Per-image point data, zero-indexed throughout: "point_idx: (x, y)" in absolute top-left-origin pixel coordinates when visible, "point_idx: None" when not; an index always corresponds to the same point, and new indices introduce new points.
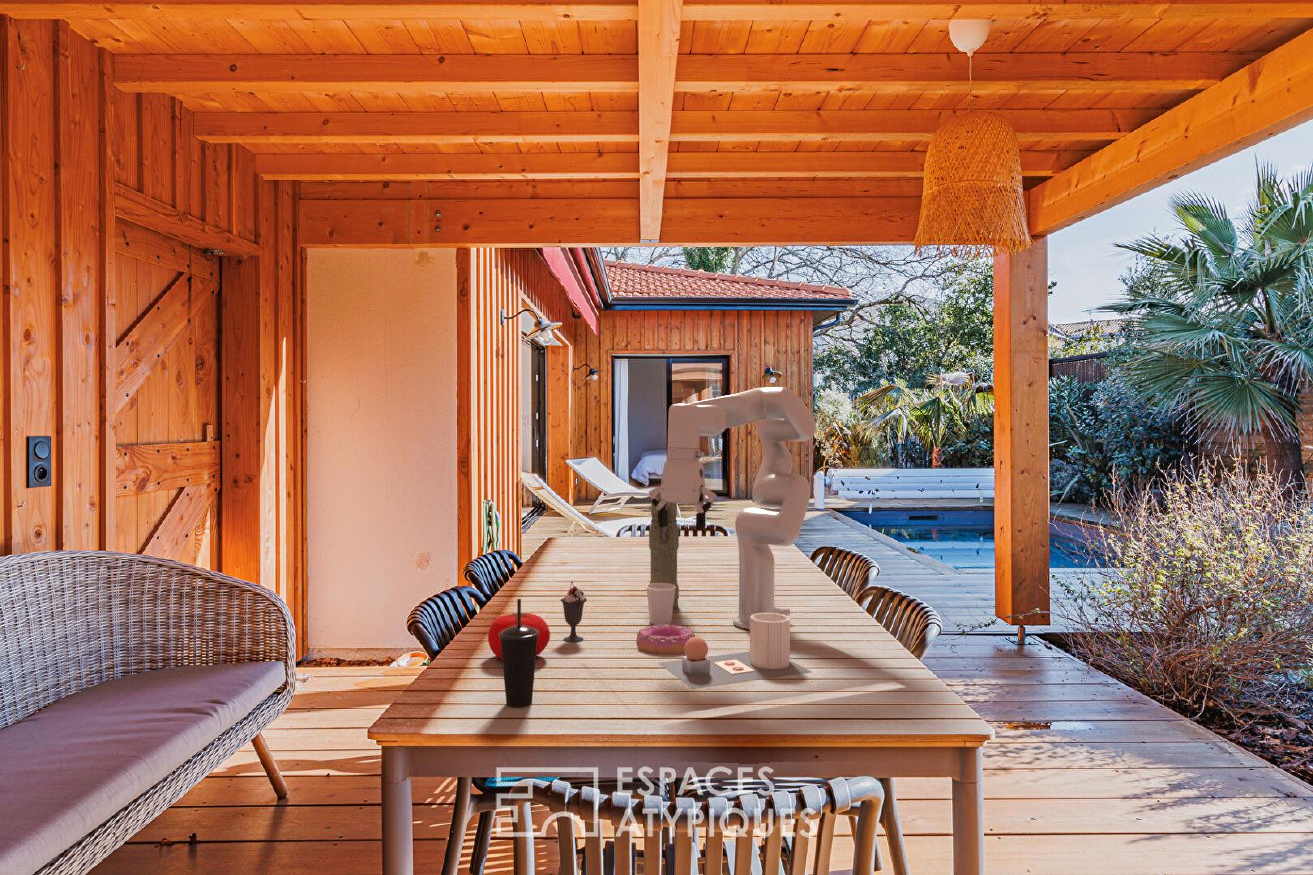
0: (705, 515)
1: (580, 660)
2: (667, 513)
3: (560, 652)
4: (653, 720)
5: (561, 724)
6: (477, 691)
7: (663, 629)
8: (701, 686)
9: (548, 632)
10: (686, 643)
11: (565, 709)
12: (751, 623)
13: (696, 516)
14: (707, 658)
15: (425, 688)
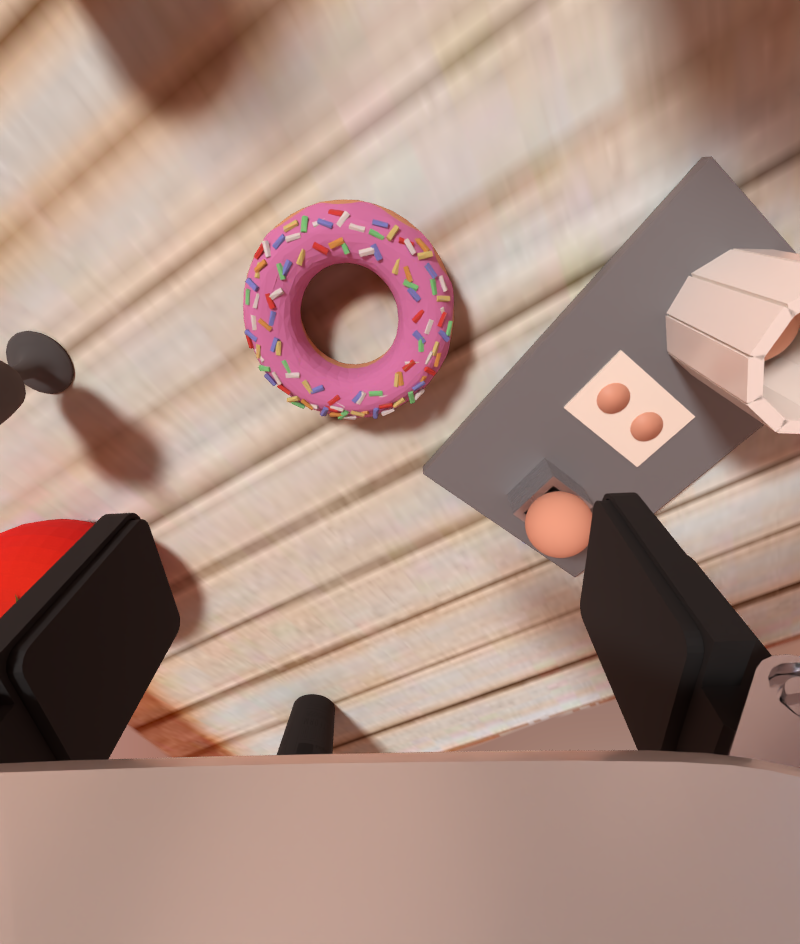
0: (761, 651)
1: (220, 505)
2: (52, 627)
3: (127, 478)
4: (549, 678)
5: (428, 732)
6: (215, 701)
7: (305, 275)
8: None
9: None
10: (539, 550)
11: (396, 698)
12: (743, 404)
13: (637, 739)
14: (583, 499)
15: (137, 721)
